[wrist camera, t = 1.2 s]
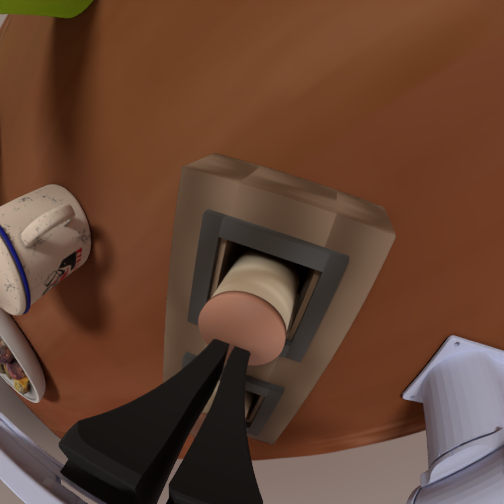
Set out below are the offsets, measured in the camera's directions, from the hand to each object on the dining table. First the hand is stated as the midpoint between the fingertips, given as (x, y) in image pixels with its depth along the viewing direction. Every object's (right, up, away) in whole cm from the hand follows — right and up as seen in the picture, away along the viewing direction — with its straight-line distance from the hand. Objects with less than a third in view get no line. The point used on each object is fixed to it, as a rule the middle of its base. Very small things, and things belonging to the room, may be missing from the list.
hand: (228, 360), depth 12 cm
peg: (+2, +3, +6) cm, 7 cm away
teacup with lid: (-16, +8, +13) cm, 22 cm away
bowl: (-50, -12, +33) cm, 61 cm away
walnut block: (+1, 0, +11) cm, 11 cm away
